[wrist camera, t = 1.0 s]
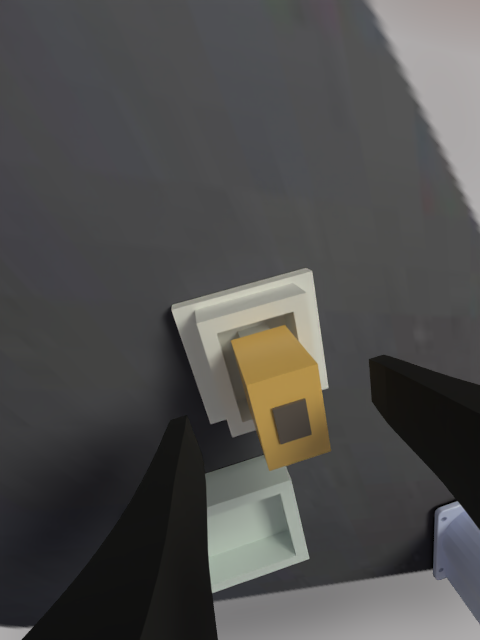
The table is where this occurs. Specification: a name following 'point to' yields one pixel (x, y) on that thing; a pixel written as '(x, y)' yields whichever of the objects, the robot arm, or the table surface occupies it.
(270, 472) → the parts tray
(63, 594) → the robot arm
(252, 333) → the block
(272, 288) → the white open box
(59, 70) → the table surface
